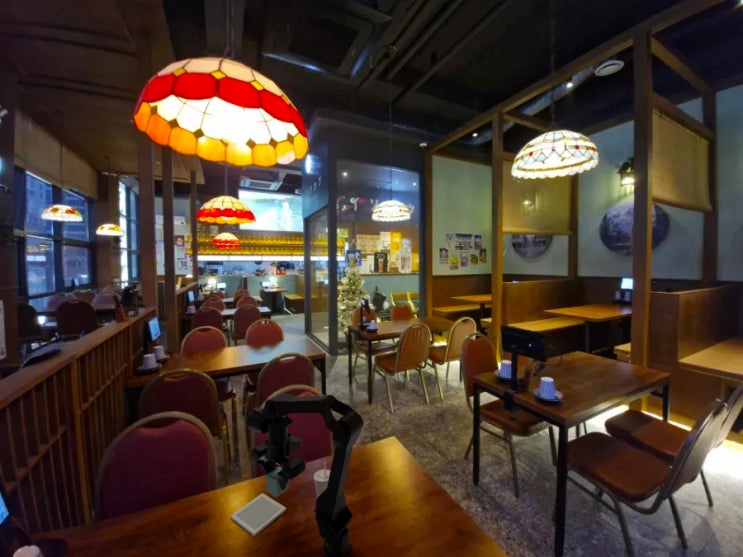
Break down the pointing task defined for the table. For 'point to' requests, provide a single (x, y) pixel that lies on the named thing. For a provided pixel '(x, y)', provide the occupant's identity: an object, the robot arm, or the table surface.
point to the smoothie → (321, 480)
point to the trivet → (258, 514)
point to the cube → (275, 483)
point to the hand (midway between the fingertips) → (277, 485)
